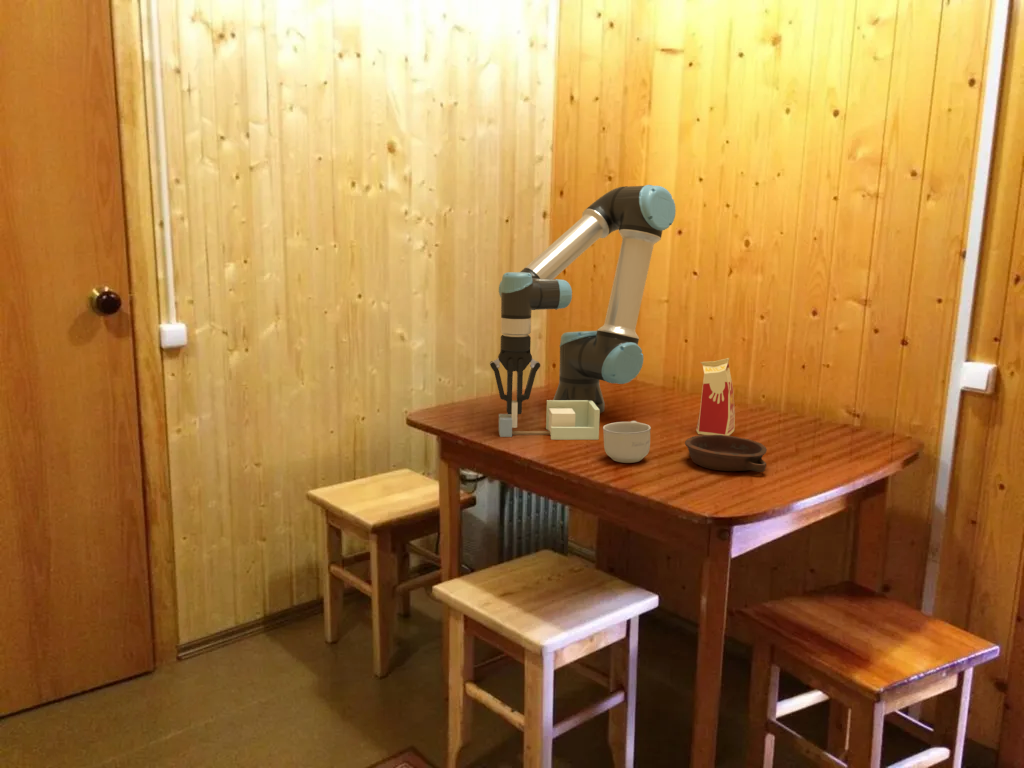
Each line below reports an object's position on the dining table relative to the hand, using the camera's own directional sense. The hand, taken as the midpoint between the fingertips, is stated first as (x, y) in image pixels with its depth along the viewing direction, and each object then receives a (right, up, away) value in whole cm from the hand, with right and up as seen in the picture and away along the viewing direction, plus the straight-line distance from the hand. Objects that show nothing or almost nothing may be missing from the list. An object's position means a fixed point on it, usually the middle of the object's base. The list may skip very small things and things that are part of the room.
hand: (513, 426), depth 206 cm
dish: (+48, -8, -22) cm, 53 cm away
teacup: (+26, -7, -19) cm, 33 cm away
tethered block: (+6, -2, +1) cm, 6 cm away
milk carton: (+53, -2, +6) cm, 53 cm away
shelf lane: (+15, -2, +2) cm, 15 cm away
